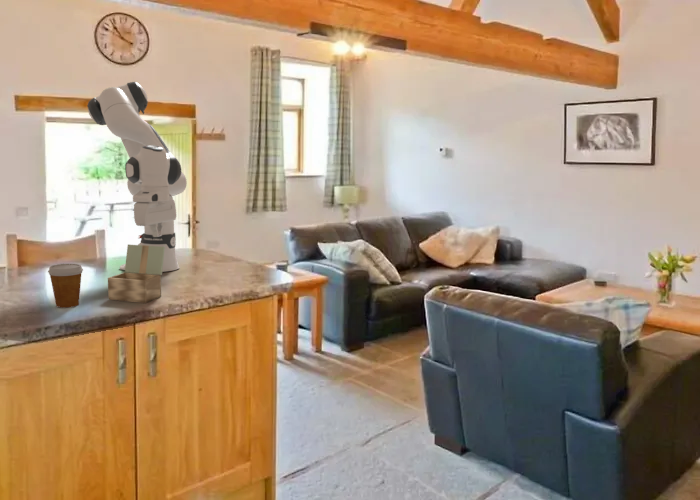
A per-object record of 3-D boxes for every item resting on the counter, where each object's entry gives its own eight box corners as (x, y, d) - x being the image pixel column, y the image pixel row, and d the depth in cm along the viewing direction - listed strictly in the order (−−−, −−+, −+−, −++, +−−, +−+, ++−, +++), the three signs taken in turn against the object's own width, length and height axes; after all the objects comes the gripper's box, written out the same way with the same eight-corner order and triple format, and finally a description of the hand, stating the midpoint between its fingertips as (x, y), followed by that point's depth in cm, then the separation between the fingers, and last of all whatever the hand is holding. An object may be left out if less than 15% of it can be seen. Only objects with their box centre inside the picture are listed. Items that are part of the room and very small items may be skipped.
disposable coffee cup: (73, 299, 193) (71, 261, 191) (91, 304, 188) (89, 265, 186) (43, 305, 185) (41, 266, 183) (61, 311, 180) (59, 270, 178)
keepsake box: (108, 299, 194) (107, 277, 193) (125, 293, 202) (124, 272, 201) (145, 303, 191) (145, 280, 190) (161, 296, 200) (160, 275, 198)
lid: (127, 244, 202) (129, 244, 203) (124, 271, 201) (126, 272, 202) (163, 246, 199) (164, 246, 200) (160, 274, 198) (161, 274, 199)
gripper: (163, 193, 215) (165, 232, 218) (129, 197, 196) (131, 240, 198) (180, 193, 214) (181, 233, 216) (147, 197, 194) (149, 240, 197)
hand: (157, 236), depth 207 cm, fingers closed
